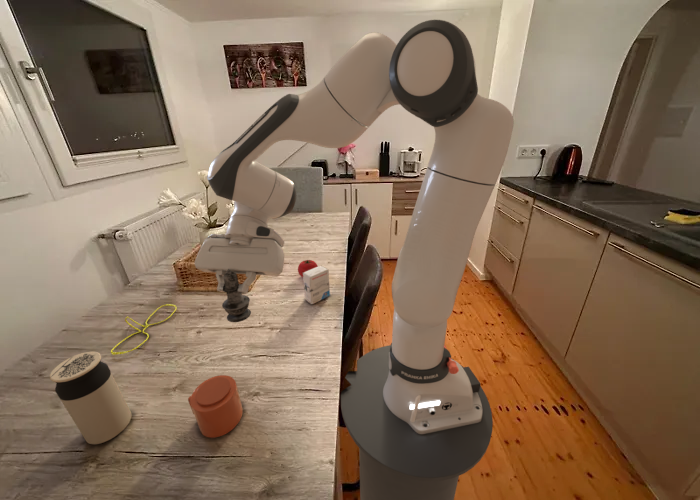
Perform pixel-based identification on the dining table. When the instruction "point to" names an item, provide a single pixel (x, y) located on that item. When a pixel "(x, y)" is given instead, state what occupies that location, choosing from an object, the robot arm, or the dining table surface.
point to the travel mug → (91, 397)
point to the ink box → (316, 284)
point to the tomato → (306, 266)
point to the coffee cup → (216, 406)
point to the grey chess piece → (235, 299)
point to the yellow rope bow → (140, 330)
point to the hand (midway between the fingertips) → (232, 292)
